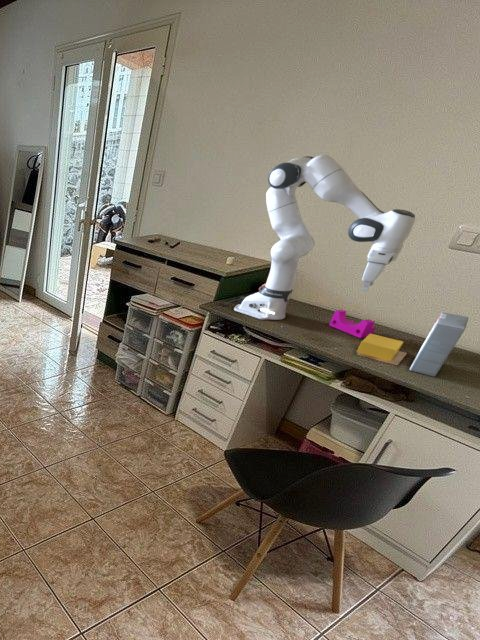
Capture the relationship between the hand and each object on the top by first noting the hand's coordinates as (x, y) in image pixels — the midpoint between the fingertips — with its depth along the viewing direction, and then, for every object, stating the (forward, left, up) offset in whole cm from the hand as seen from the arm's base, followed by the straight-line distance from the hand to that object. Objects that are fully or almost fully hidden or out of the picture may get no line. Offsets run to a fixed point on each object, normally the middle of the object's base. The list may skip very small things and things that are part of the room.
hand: (366, 287), depth 174 cm
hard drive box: (+28, -4, -25) cm, 37 cm away
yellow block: (+7, -2, -22) cm, 23 cm away
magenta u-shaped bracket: (-1, +16, -25) cm, 29 cm away
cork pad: (+14, -2, -25) cm, 28 cm away
